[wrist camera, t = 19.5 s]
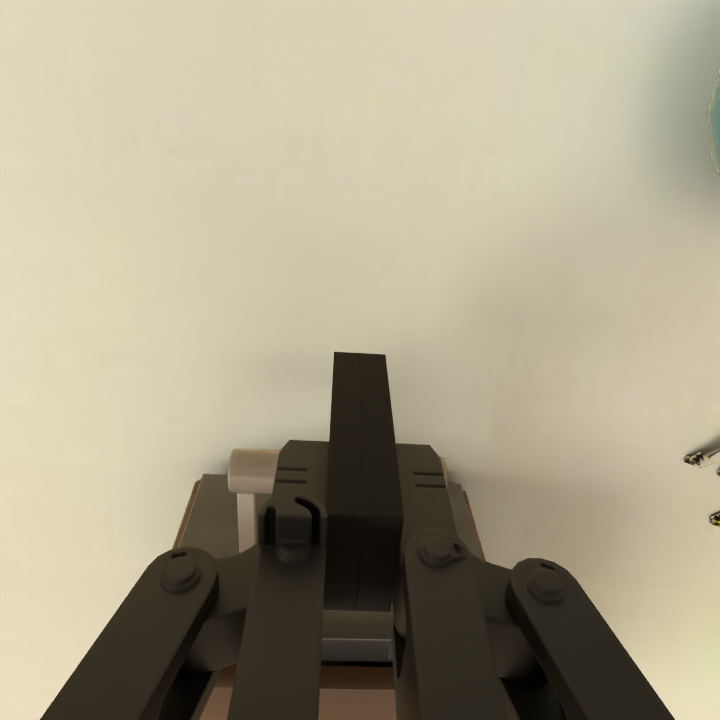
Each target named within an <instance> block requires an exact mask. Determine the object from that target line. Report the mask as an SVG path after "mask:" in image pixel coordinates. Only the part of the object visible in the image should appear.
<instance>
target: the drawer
mask: <svg viewBox="0 0 720 720" xmlns="http://www.w3.org/2000/svg"><path fill="white" fill-rule="evenodd" d="M279 452H280V451H278V450H254V449H233V451H232V453H231V455H230V460H229V467H228V475H217V474H203V476H202V479H201V482H200V485H199V488H198V491H197V494H196V497H195V500H194V503H193V505H192V508H191V511H190V514H189V517H188V520H187V523H186V526H185V529H184V532H183V535H182V538H181V541H180V544H179V547H178V548H181V547H196V548H200V549H202V550H204V551H207V552H209V553H210V554H211V556H212V557H213V558H214V559H219V558H223V557H228V556H232V555H235V554H238V553H241V552H243V551H245V550H247V549H249V548H251V547H252V546H253V545H254V544H255V543H257V542H258V513H259V511H260V509H261V507H262V505H263V504H265V503H266V502H267V501H268V500H269V499H271V496H272V490H273V485H274V479H275V473H276V469H277V462H278V456H279ZM440 459H441V463H442V468H443V472H444V477H445V481H446V489H447V490H448V495H449V499H450V504H451V508H452V513H453V517H454V522H455V526H456V531H457V534H458V537H459V539H461V540H462V541H463V542H464V543H465V545H466V547H467V549H468V551H470V552H471V553H472V554H473V555H475V556H476V557H478V558H479V559H481V560H482V557H481V554H480V550H479V547H478V543H477V540H476V536H475V533H474V529H473V526H472V522H471V519H470V515H469V512H468V508H467V505H466V501H465V498H464V494H463V490H462V487H461V484H457V483H447V466H446V462H445V460H444V458H442V457H440ZM393 620H394V618H393V605H392V604H391V611H390V612H373V611H343V610H323V629H322V651H321V661H353V663H352V664H351V666H366V667H393V660H389V659H388V654H389V647H390V640H391V634H392V627H393Z"/></svg>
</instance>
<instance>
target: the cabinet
mask: <svg viewBox="0 0 720 720" xmlns="http://www.w3.org/2000/svg"><path fill="white" fill-rule="evenodd" d="M199 485H200V482H198V481H197V482H195V485H194V487H193V490H192V494H191V496H190V499H189V502H188V505H187V508H186V511H185V514H184V517H183V519H182V522H181V525H180V528H179V531H178V534H177V537H176V540H175V542H174V545H173V548H172V549H176V548H178V547H179V544H180V541H181V538H182V535H183V532H184V529H185V526H186V523H187V520H188V517H189V514H190V511H191V508H192V505H193V503H194V500H195V497H196V494H197V491H198V488H199ZM463 494H464V498H465V501H466V505H467V508H468V512H469V515H470V519H471V522H472V526H473V529H474V533H475V536H476V540H477V543H478V547H479V550H480V554H481V557H482V560H484V561H486V560H485V557H484V553H483V550H482V546H481V543H480V540H479V536H478V533H477V529H476V526H475V522H474V519H473V516H472V512H471V509H470V505H469V502H468V498H467V495H466V492H465V491H463ZM236 667H237V664H234V665H231V666H228V667H224V668H222V672H221V674H220V676H219V678H218V680H217V682H216V685H215V687H214V689H213V691H212V693H211V695H210V698H209V700H208V702H207V704H206V706H205V708H204V711H203V713H202V715H201V717H200V719H199V720H227V716H228V711H229V705H230V700H231V694H232V689H233V683H234V678H235V672H236ZM318 720H397V718H396V703H395V688H394V673H393V667H366V666H321V673H320V695H319V717H318Z"/></svg>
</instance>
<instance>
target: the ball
mask: <svg viewBox="0 0 720 720" xmlns="http://www.w3.org/2000/svg"><path fill="white" fill-rule="evenodd" d="M708 121H709V134H710V147H711V157H712V163H713V164H714V166H715V168H716V169H717V171H718V173H719V174H720V71H719V74H718V77H717V81H716V84H715V88H714V91H713V94H712V98H711V101H710V105H709V108H708Z"/></svg>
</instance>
